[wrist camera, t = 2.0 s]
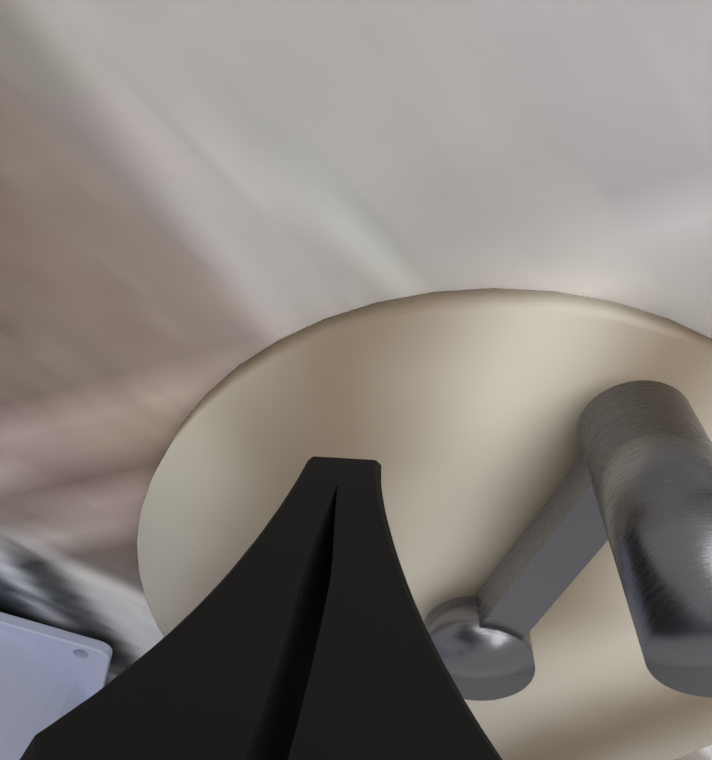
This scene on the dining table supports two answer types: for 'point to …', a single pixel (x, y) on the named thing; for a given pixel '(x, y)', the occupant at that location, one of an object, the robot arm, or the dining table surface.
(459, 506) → the dial board
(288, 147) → the dining table surface
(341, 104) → the dining table surface
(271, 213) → the dining table surface
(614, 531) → the lever
